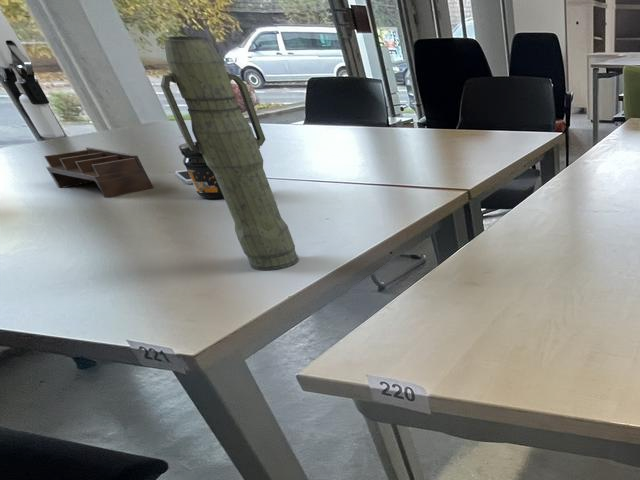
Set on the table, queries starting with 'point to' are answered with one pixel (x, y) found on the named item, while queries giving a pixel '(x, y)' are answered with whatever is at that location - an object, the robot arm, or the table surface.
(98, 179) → the shelf
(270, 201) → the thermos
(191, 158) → the supplement container
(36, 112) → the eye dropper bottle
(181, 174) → the smartphone
